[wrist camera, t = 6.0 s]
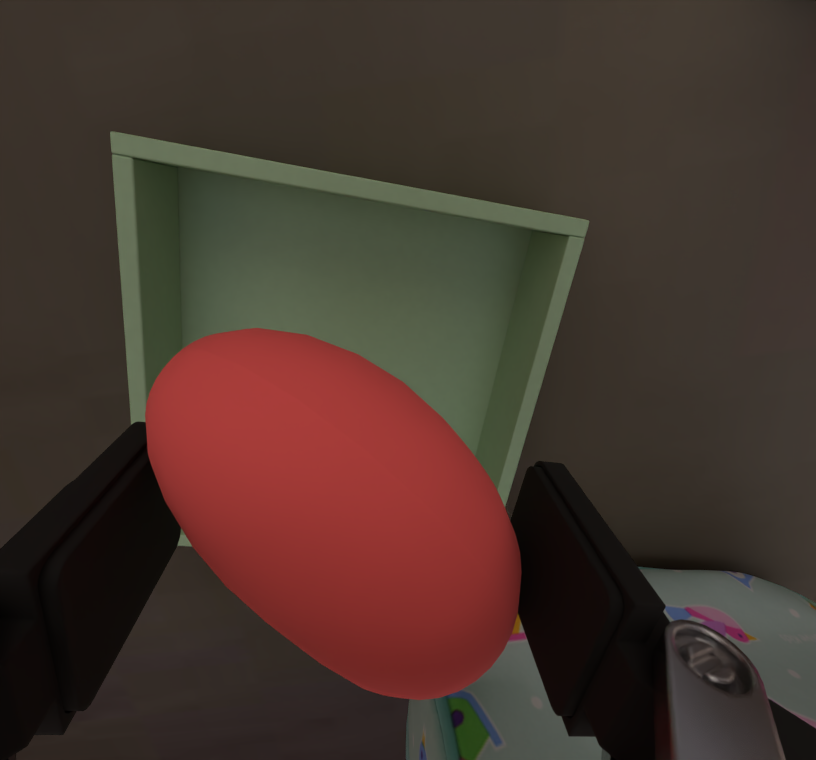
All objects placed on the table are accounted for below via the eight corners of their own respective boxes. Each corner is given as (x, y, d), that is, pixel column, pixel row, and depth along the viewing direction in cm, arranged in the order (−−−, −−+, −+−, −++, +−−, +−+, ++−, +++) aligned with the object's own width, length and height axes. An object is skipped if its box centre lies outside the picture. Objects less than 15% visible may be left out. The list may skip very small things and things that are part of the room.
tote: (163, 146, 16) (108, 130, 12) (546, 217, 18) (590, 220, 15) (175, 488, 21) (139, 544, 18) (470, 509, 24) (489, 561, 20)
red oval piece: (441, 260, 10) (258, 233, 5) (586, 593, 11) (573, 939, 5) (290, 343, 13) (47, 390, 7) (413, 616, 13) (271, 871, 7)
